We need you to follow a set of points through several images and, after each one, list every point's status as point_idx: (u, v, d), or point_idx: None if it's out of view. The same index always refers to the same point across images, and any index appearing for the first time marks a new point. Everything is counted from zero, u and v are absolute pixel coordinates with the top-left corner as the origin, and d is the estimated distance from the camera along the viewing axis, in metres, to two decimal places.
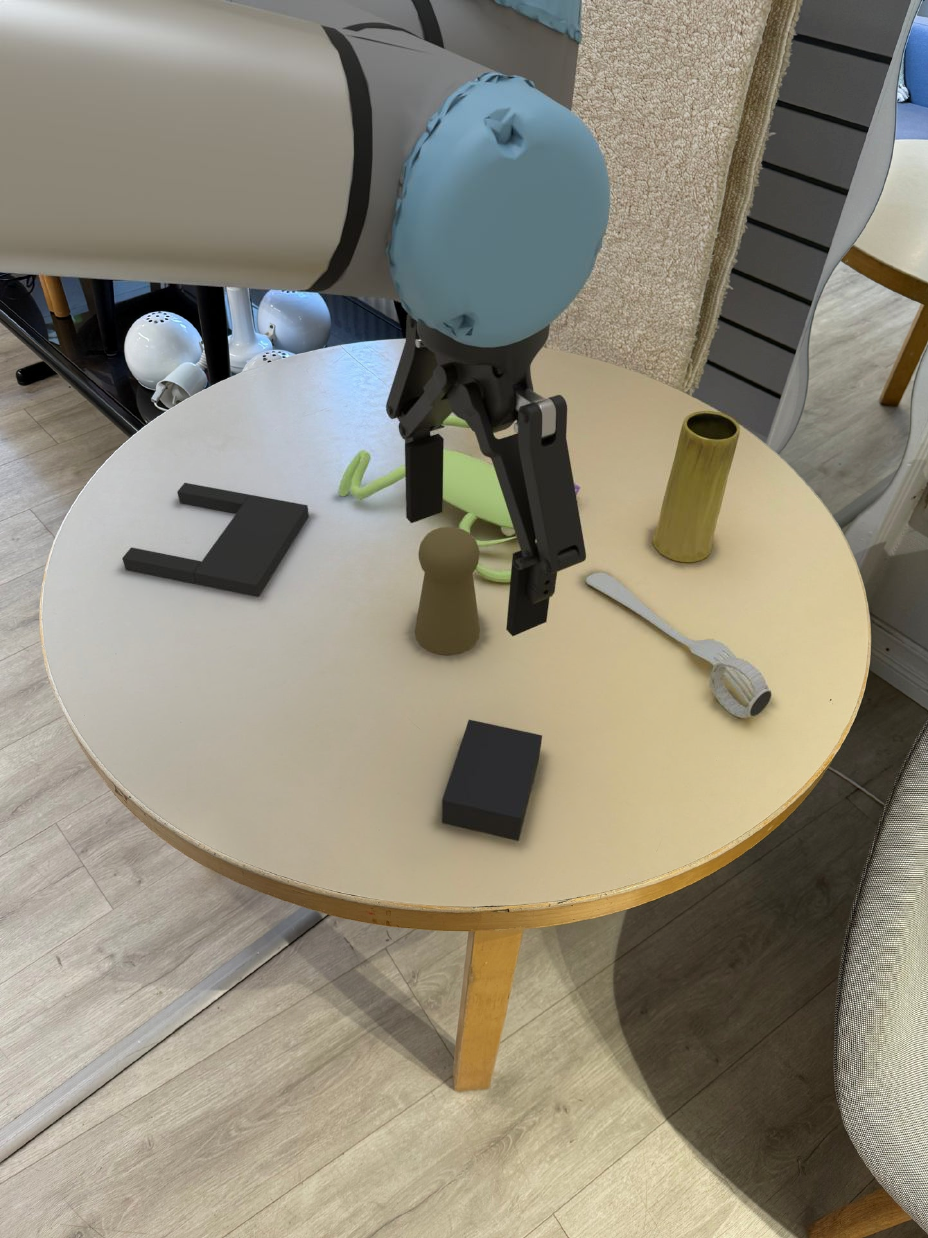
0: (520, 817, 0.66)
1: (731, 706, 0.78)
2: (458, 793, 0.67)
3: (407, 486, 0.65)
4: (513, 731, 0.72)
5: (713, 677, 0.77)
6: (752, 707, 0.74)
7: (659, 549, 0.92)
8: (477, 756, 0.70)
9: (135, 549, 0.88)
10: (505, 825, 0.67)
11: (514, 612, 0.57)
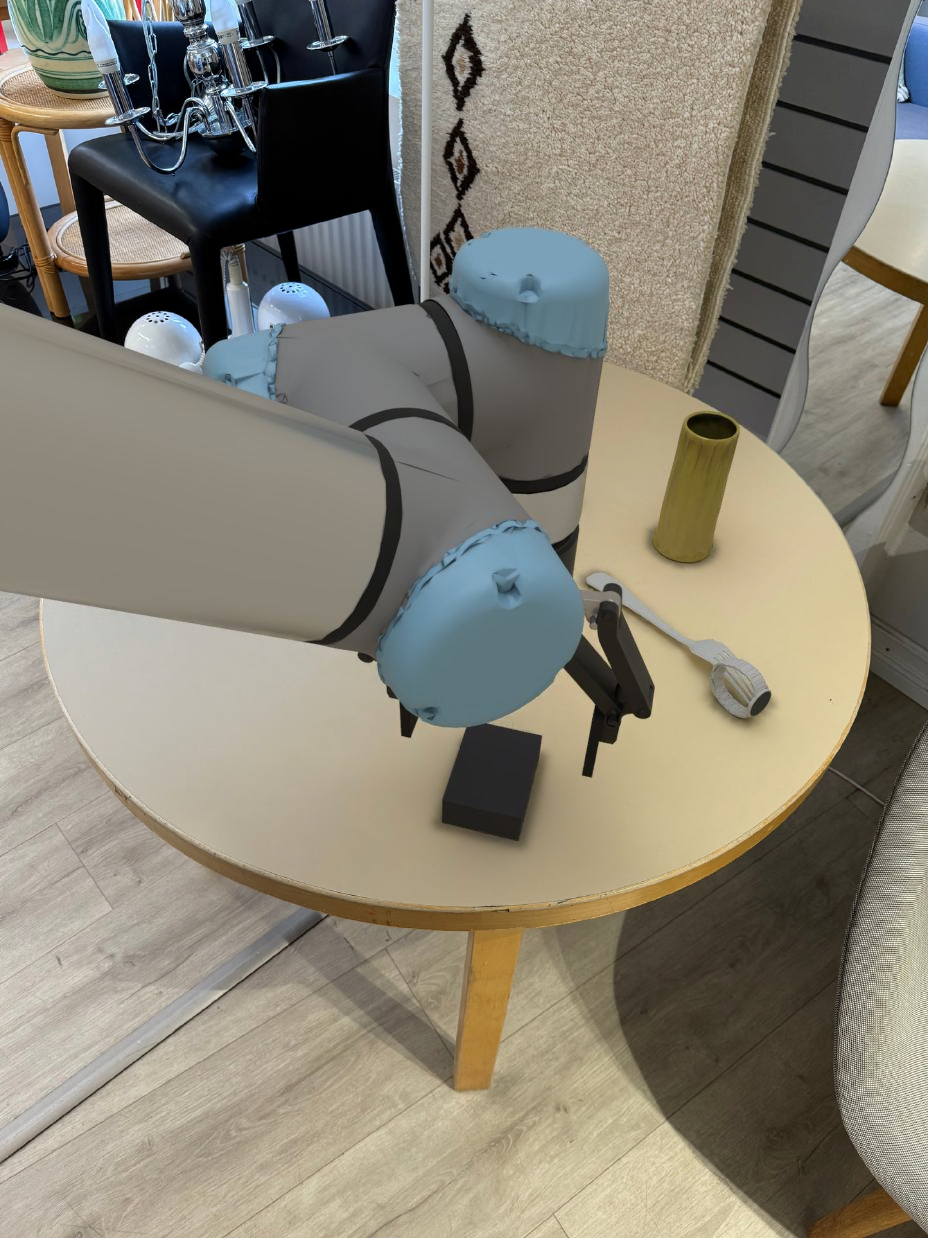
0: (520, 817, 0.66)
1: (731, 706, 0.78)
2: (458, 793, 0.67)
3: (403, 710, 0.65)
4: (513, 731, 0.72)
5: (713, 677, 0.77)
6: (752, 707, 0.74)
7: (659, 549, 0.92)
8: (477, 756, 0.70)
9: None
10: (505, 825, 0.67)
11: (594, 759, 0.64)
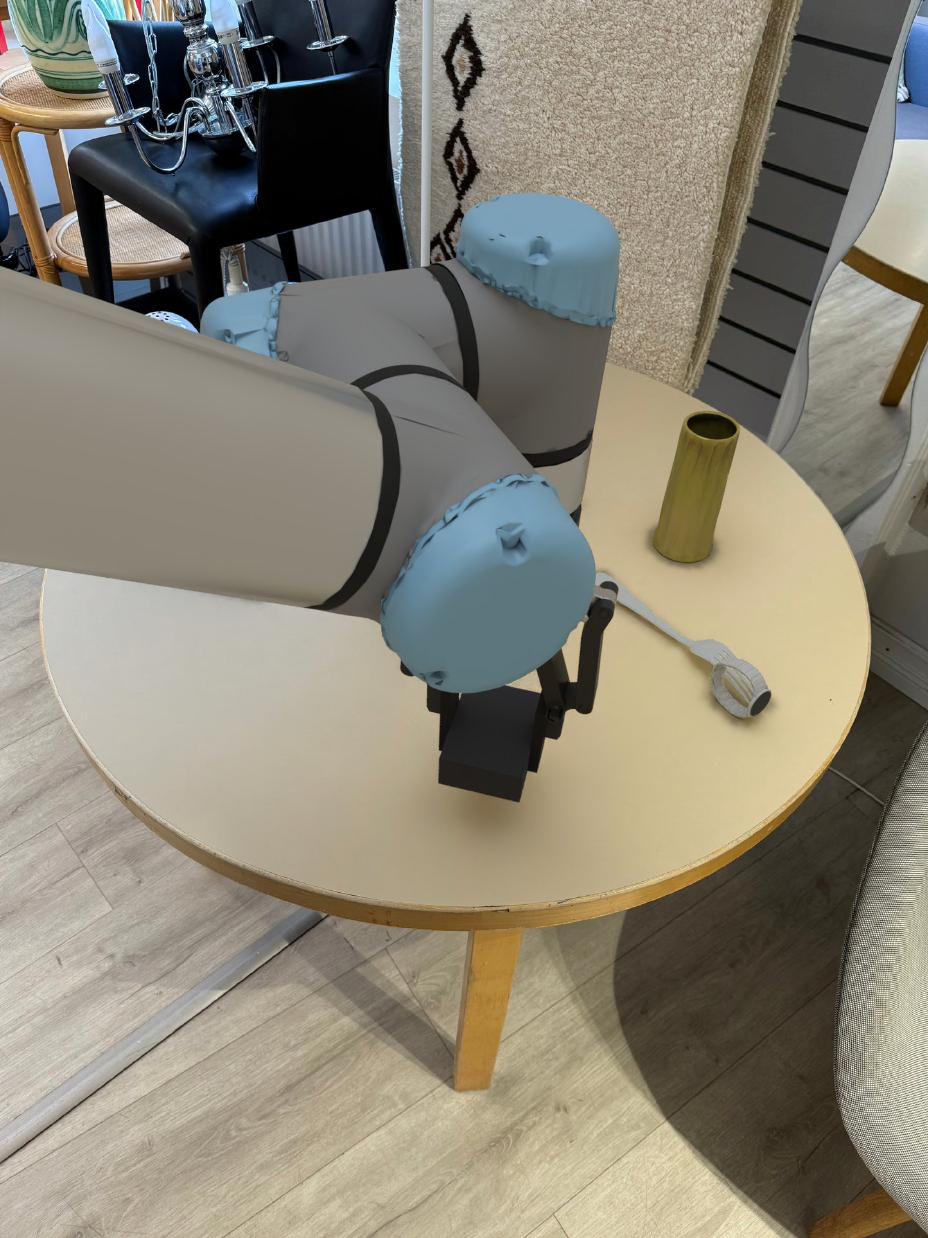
0: (521, 776, 0.62)
1: (731, 706, 0.78)
2: (455, 751, 0.63)
3: (443, 725, 0.65)
4: (514, 689, 0.68)
5: (713, 677, 0.77)
6: (752, 707, 0.74)
7: (659, 549, 0.92)
8: (476, 714, 0.66)
9: None
10: (505, 785, 0.63)
11: (539, 755, 0.64)
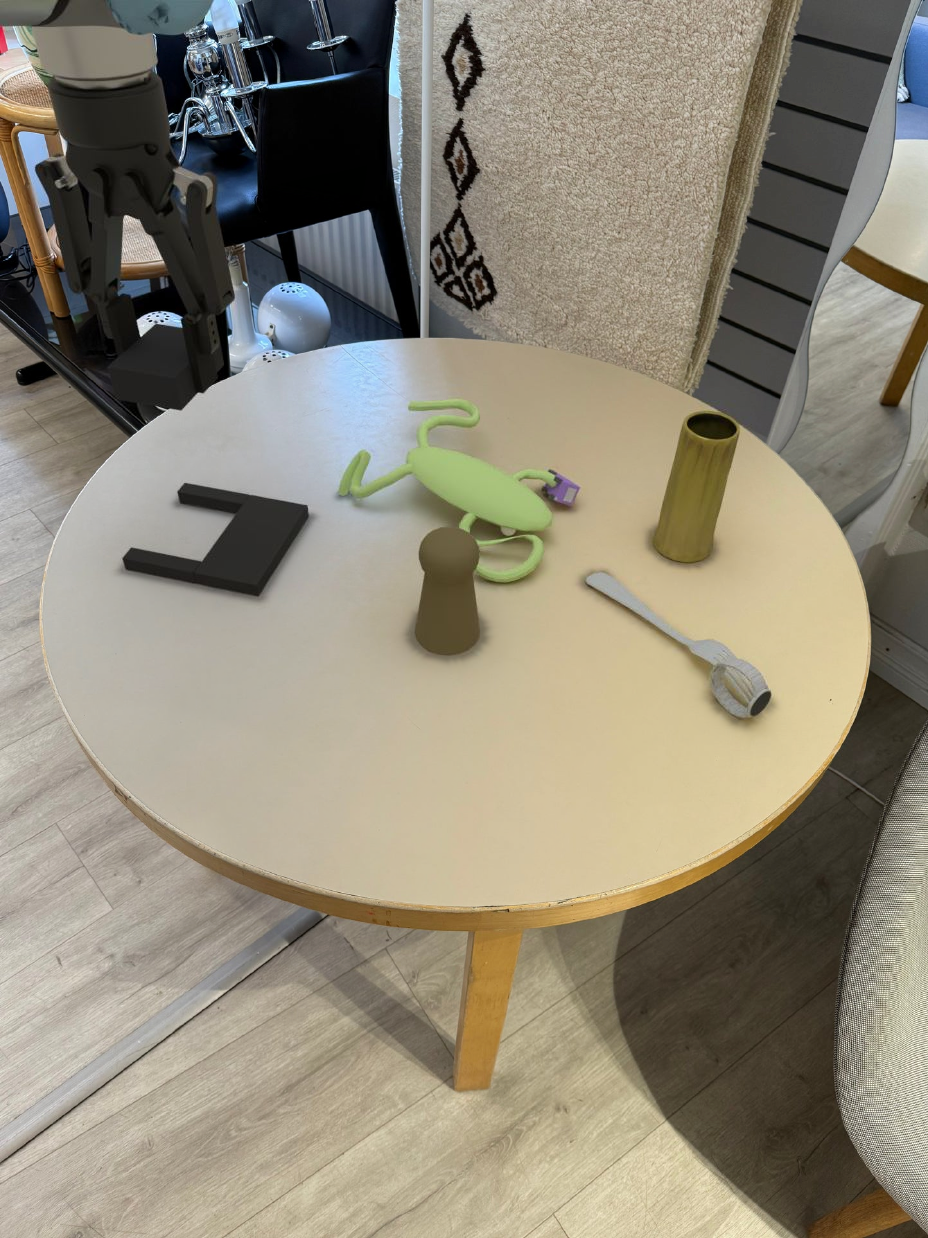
0: (173, 377, 0.73)
1: (731, 706, 0.78)
2: (123, 363, 0.74)
3: (118, 347, 0.75)
4: None
5: (713, 677, 0.77)
6: (752, 707, 0.74)
7: (659, 549, 0.92)
8: (152, 343, 0.76)
9: (135, 549, 0.88)
10: (164, 390, 0.74)
11: (198, 370, 0.75)
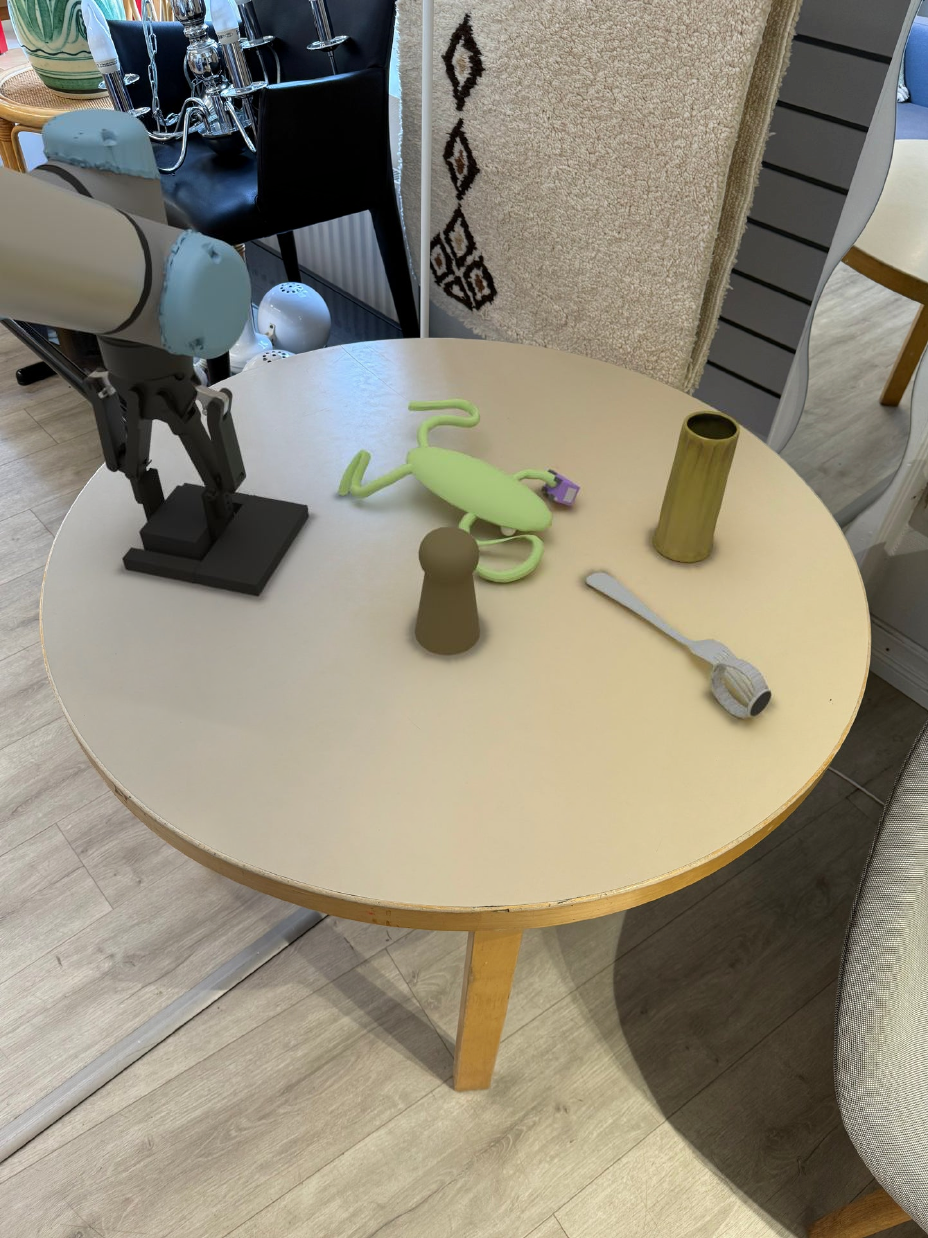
0: (194, 541, 0.87)
1: (731, 706, 0.78)
2: (152, 527, 0.89)
3: (147, 512, 0.90)
4: None
5: (713, 677, 0.77)
6: (752, 707, 0.74)
7: (659, 549, 0.92)
8: (175, 506, 0.91)
9: (135, 549, 0.88)
10: (187, 550, 0.88)
11: (215, 532, 0.89)
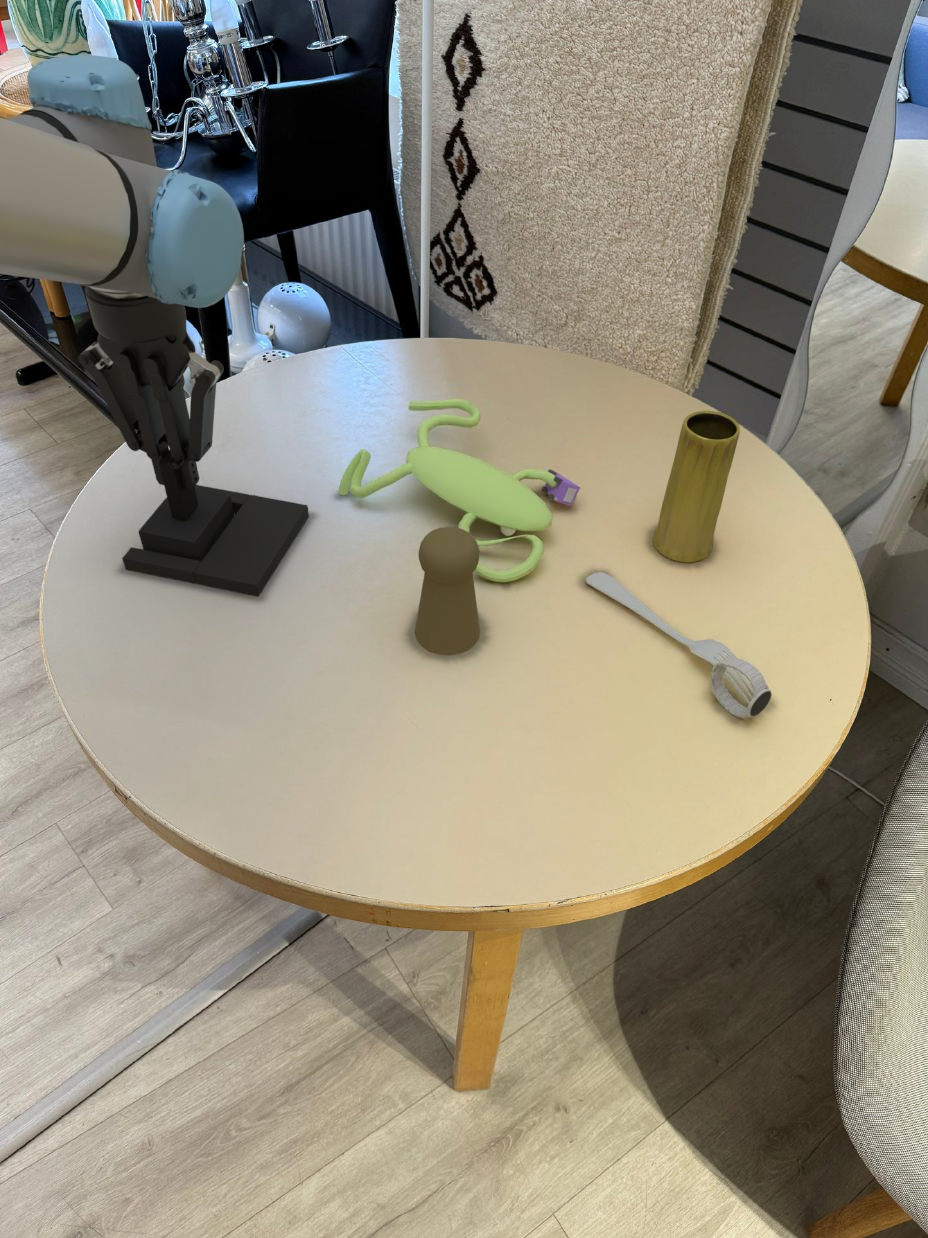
0: (194, 541, 0.87)
1: (731, 706, 0.78)
2: (151, 527, 0.89)
3: (168, 493, 0.87)
4: (208, 492, 0.93)
5: (713, 677, 0.77)
6: (752, 707, 0.74)
7: (659, 549, 0.92)
8: None
9: (135, 549, 0.88)
10: (186, 550, 0.88)
11: (181, 502, 0.88)
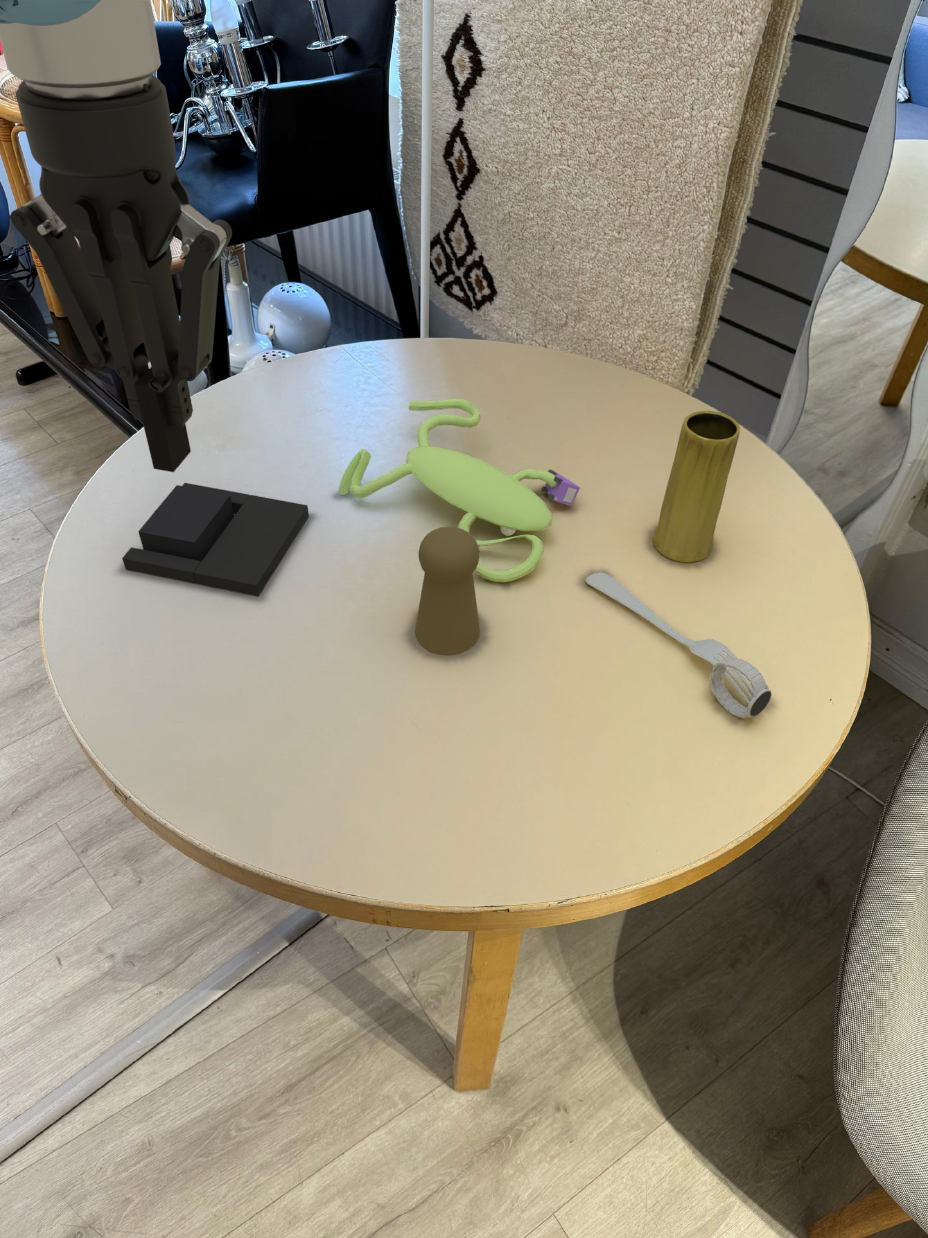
0: (194, 541, 0.87)
1: (731, 706, 0.78)
2: (151, 527, 0.89)
3: (148, 431, 0.60)
4: (208, 492, 0.93)
5: (713, 677, 0.77)
6: (752, 707, 0.74)
7: (659, 549, 0.92)
8: (174, 506, 0.91)
9: (135, 549, 0.88)
10: (186, 550, 0.88)
11: (167, 445, 0.61)
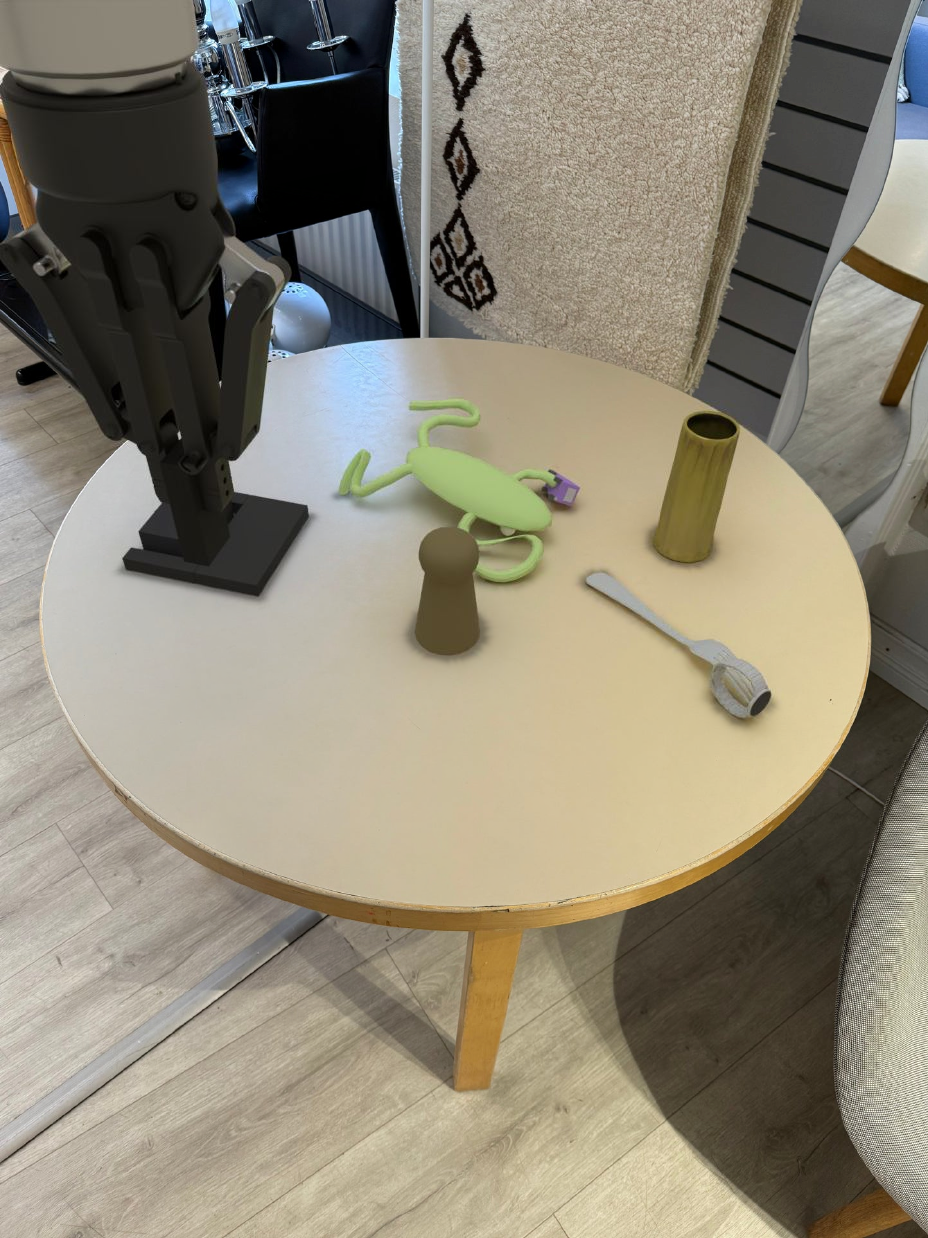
0: None
1: (731, 706, 0.78)
2: (151, 527, 0.89)
3: (177, 518, 0.47)
4: None
5: (713, 677, 0.77)
6: (752, 707, 0.74)
7: (659, 549, 0.92)
8: None
9: (135, 549, 0.88)
10: None
11: (201, 536, 0.48)
